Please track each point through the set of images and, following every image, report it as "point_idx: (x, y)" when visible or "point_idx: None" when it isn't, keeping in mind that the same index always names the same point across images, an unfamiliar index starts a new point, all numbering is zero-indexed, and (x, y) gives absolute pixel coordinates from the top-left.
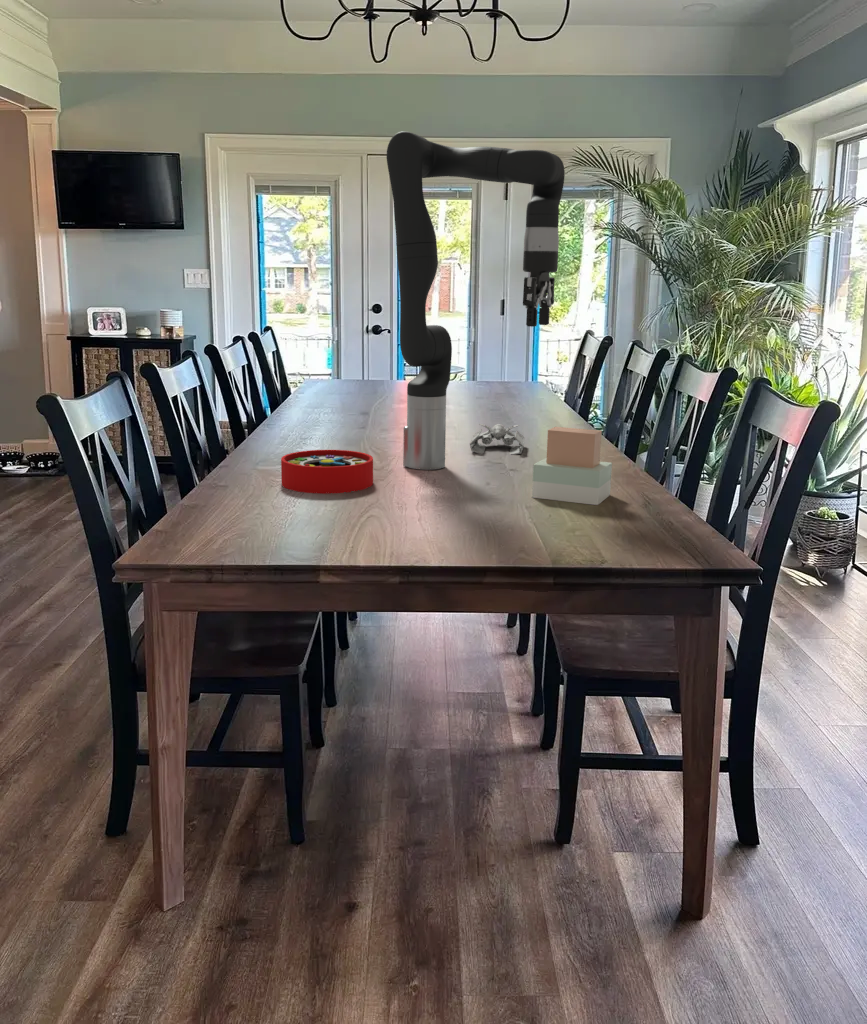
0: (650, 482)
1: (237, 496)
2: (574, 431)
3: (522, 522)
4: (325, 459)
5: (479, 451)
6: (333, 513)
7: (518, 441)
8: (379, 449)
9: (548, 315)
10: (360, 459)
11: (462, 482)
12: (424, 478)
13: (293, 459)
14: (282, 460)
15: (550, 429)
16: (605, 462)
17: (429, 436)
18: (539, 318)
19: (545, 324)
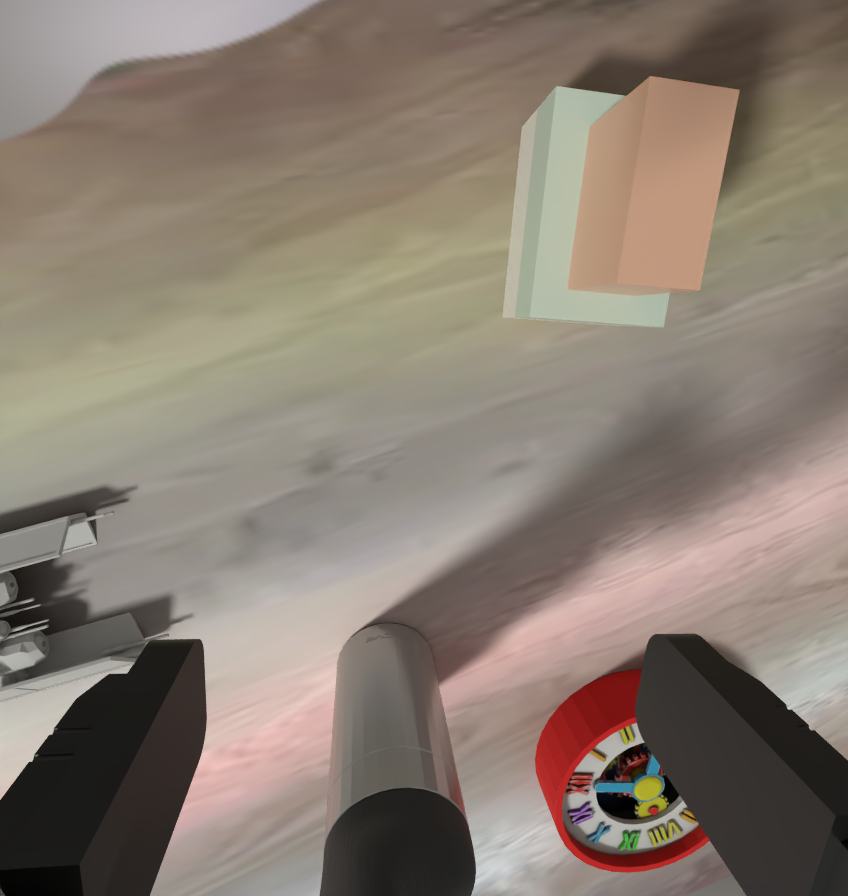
0: (294, 16)
1: None
2: (701, 185)
3: (836, 283)
4: (642, 797)
5: (120, 627)
6: (839, 627)
7: (65, 538)
8: (235, 836)
9: (144, 729)
10: (593, 750)
11: (519, 525)
12: (511, 613)
13: (627, 852)
14: (703, 845)
15: (684, 284)
16: (560, 110)
17: (438, 701)
18: (176, 808)
19: (201, 662)
